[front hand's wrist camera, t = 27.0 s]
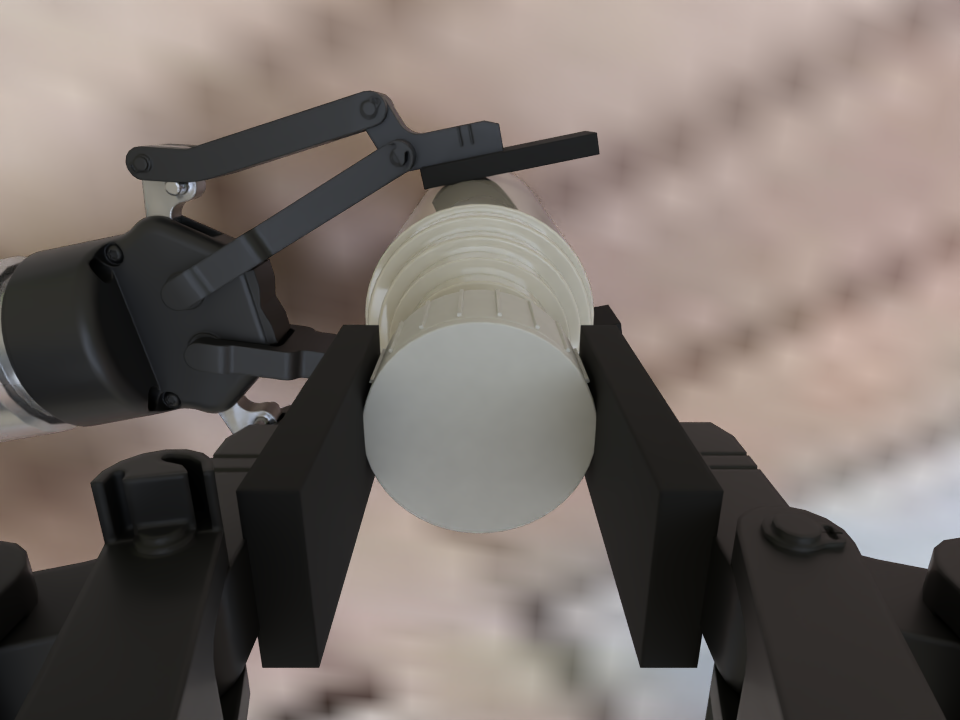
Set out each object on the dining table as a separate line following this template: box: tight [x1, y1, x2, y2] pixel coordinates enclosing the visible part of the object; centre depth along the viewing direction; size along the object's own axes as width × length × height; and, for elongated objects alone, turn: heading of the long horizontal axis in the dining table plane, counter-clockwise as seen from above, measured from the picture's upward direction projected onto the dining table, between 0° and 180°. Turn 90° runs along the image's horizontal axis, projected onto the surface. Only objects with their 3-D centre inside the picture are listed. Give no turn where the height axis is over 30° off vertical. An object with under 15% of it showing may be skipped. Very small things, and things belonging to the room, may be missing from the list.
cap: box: [363, 289, 596, 533], centre depth 13 cm, size 4×4×2 cm
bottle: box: [365, 172, 594, 354], centre depth 23 cm, size 6×6×21 cm
